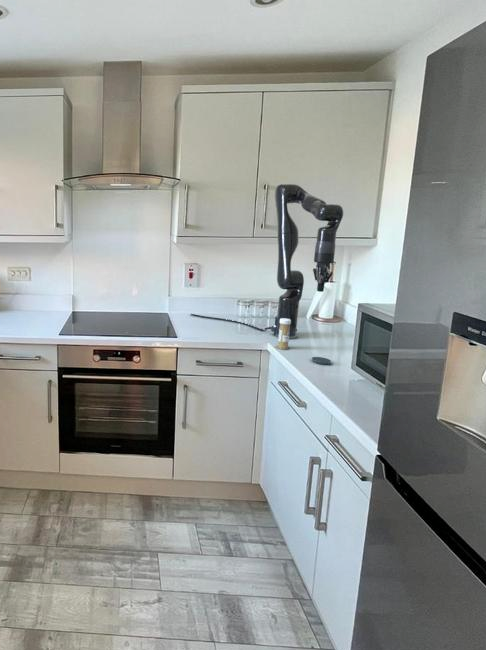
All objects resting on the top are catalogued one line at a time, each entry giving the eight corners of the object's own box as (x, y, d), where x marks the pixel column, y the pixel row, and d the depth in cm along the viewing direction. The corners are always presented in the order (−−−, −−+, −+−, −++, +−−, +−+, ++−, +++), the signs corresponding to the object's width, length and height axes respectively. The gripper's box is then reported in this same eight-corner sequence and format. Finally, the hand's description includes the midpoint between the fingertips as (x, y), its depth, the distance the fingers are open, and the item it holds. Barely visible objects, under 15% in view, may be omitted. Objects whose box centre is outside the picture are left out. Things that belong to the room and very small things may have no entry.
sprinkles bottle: (287, 350, 186) (290, 320, 184) (276, 348, 189) (279, 319, 187) (288, 347, 190) (291, 318, 188) (278, 345, 193) (281, 317, 190)
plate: (308, 361, 172) (308, 358, 171) (316, 358, 176) (316, 355, 175) (325, 366, 166) (326, 363, 166) (333, 363, 170) (334, 360, 170)
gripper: (308, 250, 186) (304, 288, 189) (323, 252, 173) (318, 293, 176) (326, 250, 185) (321, 289, 188) (341, 253, 172) (336, 294, 175)
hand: (320, 291), depth 182 cm, fingers closed
